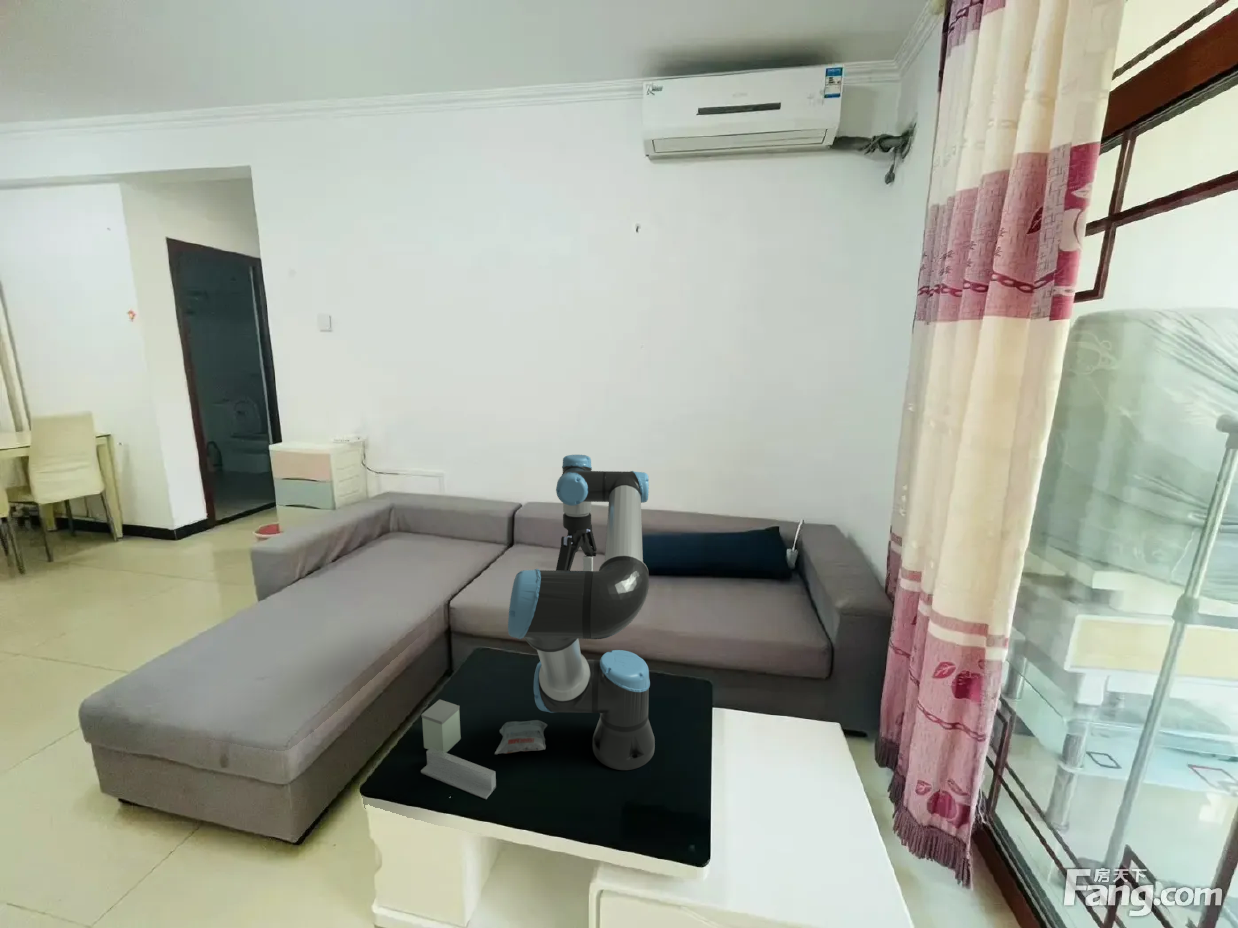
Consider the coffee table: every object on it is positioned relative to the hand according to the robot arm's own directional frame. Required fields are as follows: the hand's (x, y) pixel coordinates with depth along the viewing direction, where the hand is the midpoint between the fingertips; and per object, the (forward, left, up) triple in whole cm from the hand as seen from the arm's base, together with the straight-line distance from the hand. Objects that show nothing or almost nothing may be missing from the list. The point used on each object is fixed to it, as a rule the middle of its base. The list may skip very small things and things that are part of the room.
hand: (577, 587), depth 140 cm
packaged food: (+4, +28, -33) cm, 43 cm away
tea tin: (+21, +32, -32) cm, 49 cm away
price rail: (+10, +38, -32) cm, 50 cm away
